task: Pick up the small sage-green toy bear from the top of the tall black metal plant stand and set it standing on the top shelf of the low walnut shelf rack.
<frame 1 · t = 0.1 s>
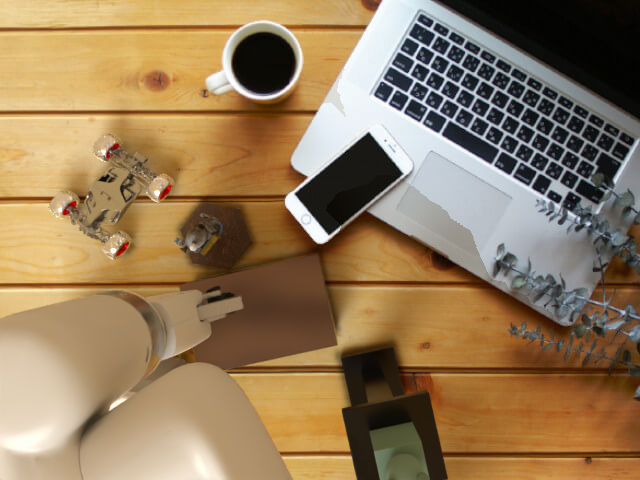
hand: (176, 310, 56), 22 cm above the table, tool pointing down, fingers open, 9 cm apart
toy car: (119, 196, 79), on the table
robot figurine: (218, 235, 79), on the table
shelf rack: (267, 304, 78), on the table
plant stand: (372, 376, 78), on the table
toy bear: (395, 445, 52), point 26 cm above the table, touching plant stand
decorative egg: (103, 359, 79), on the table
jar: (173, 386, 79), on the table
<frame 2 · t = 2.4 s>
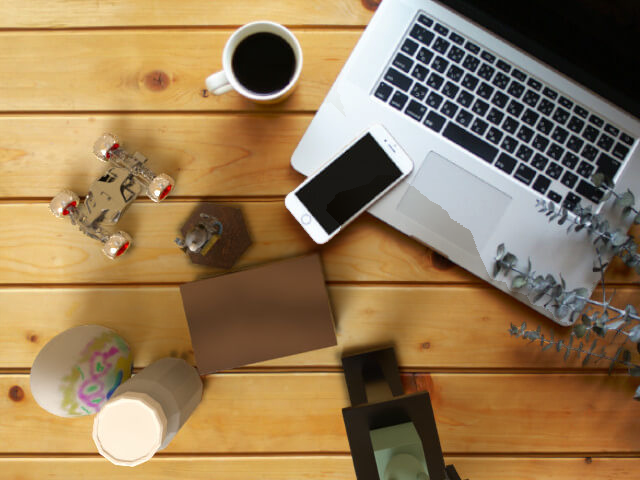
nothing on the table moved.
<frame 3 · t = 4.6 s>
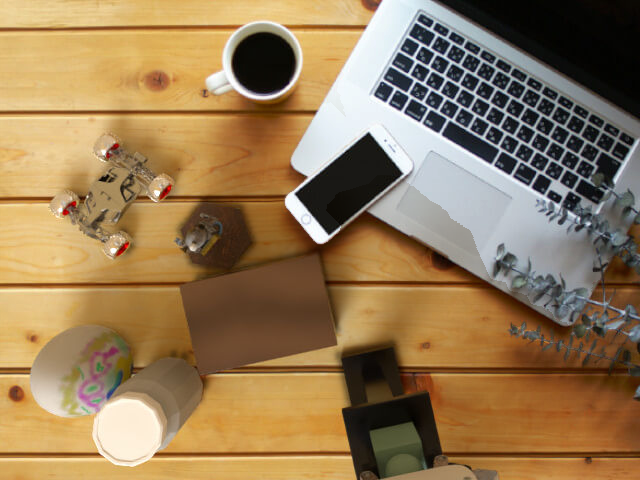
hand: (399, 459, 49), 29 cm above the table, tool pointing down, fingers closed on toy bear, 4 cm apart
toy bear: (395, 445, 52), point 26 cm above the table, touching gripper, plant stand
everything else where it was.
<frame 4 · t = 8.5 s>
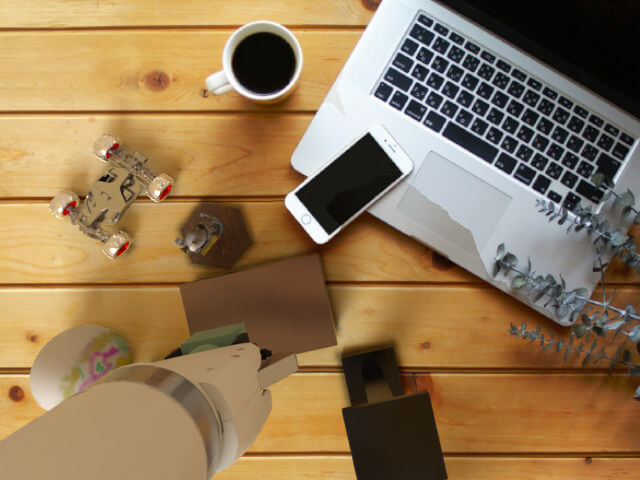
hand: (217, 358, 42), 36 cm above the table, tool pointing down, fingers closed on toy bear, 4 cm apart
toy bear: (224, 349, 46), point 33 cm above the table, touching gripper
everything else where it was.
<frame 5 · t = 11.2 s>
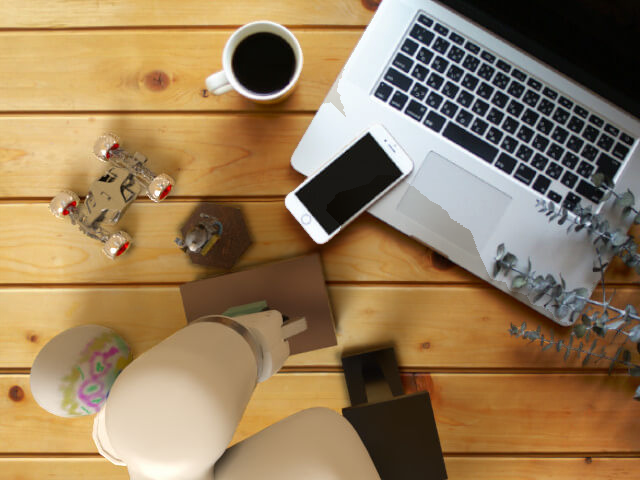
hand: (247, 325, 58), 20 cm above the table, tool pointing down, fingers closed on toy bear, 4 cm apart
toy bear: (251, 320, 62), point 17 cm above the table, touching gripper
everything else where it was.
when the fingers open (15 cm above the table, at t = 12.7 s): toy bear stays where it is, resting on shelf rack.
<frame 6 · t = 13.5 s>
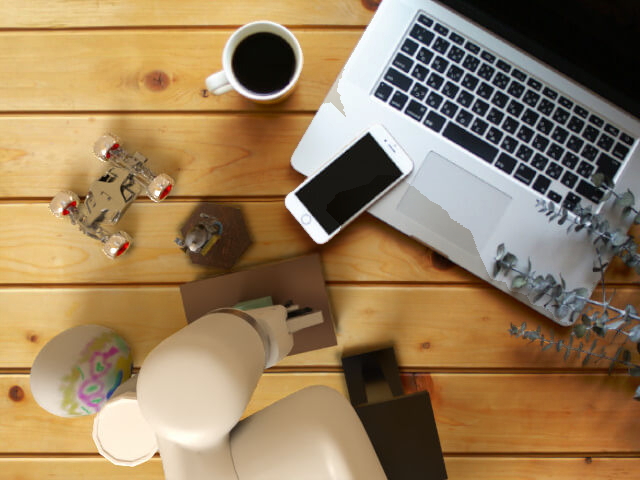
hand: (253, 321, 62), 16 cm above the table, tool pointing down, fingers open, 9 cm apart
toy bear: (257, 314, 67), point 11 cm above the table, touching shelf rack
everything else where it was.
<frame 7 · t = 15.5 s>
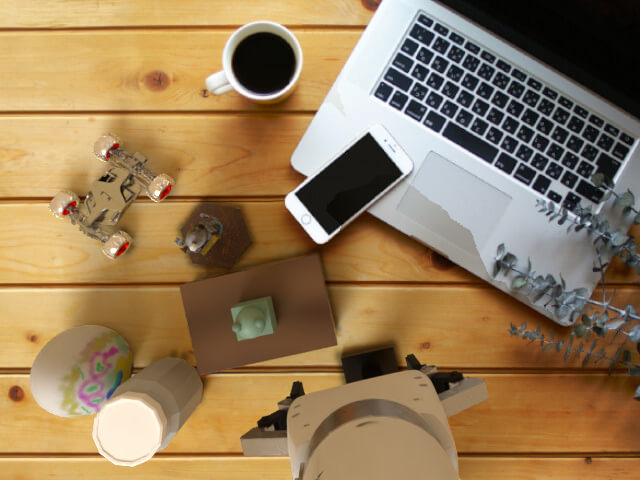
hand: (357, 385, 44), 34 cm above the table, tool pointing down, fingers open, 9 cm apart
nothing on the table moved.
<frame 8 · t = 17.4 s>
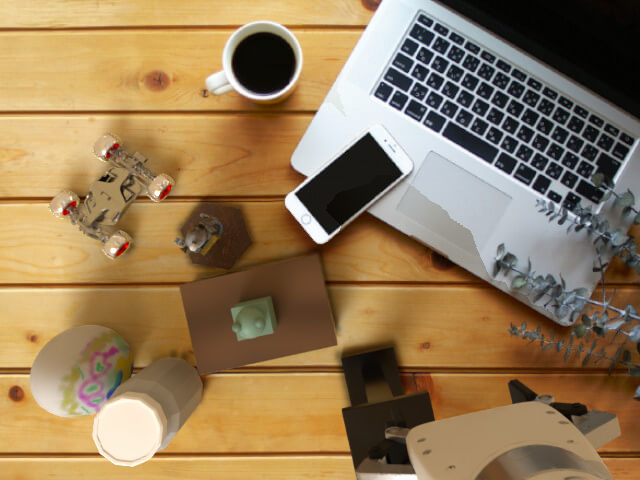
hand: (456, 410, 42), 36 cm above the table, tool pointing down, fingers open, 9 cm apart
nothing on the table moved.
at the end: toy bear inside the target area on the shelf rack (0.1 cm from its centre), point 11.2 cm above the shelf rack's base; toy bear tilted 0°; the gripper is holding nothing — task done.
